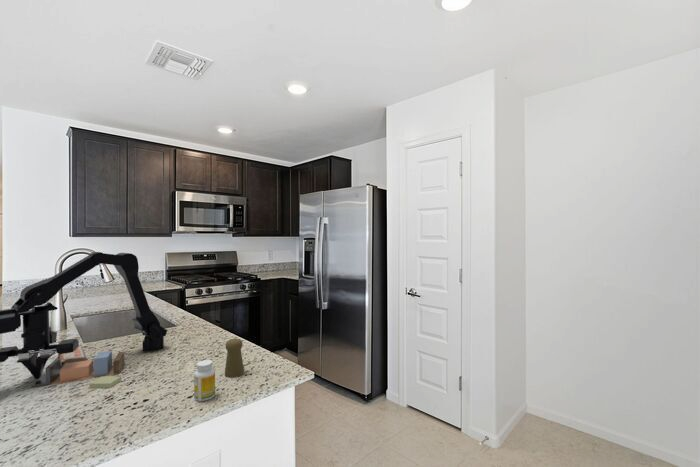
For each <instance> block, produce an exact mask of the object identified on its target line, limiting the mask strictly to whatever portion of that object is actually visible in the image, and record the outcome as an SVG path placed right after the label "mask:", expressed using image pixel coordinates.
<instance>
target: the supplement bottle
mask: <svg viewBox="0 0 700 467" xmlns="http://www.w3.org/2000/svg"><path fill="white" fill-rule="evenodd" d="M213 366H214V364H213V360H211V359H203V360H200V361H198V362H197V363H196V369H197V370H196V371H195V372H194V373H193V390H194V391H193V394H194V396H193V398H194V400H195V401H197V402H205V401H209V400H211V399H213V398H214V397H215V396H216V369H215V368H214V367H213Z"/></svg>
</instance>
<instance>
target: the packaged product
mask: <svg viewBox="0 0 700 467" xmlns="http://www.w3.org/2000/svg"><path fill="white" fill-rule="evenodd" d="M87 356H88V352H87V351H85V350H84V348H83V346H82V345H79V347H78V348H77V349H76V350H75V351H74V352H71V353H65V354H58V353H57V357H55V356H54V357H53V356H52V357H51V361H54V360H55V359H57V358H60V369H61V368H62V367H63V366H64V365H65V364H67V363H73V362H80V361H87V360H88V358H87Z"/></svg>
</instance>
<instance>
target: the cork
mask: <svg viewBox="0 0 700 467" xmlns="http://www.w3.org/2000/svg"><path fill="white" fill-rule="evenodd" d="M243 344H244V343H243V340H241V338H231V339H228V340H227V341H226V343H225V349H226V351H227V353H226V362H225V370H224V376H225V377H226V378H238V377H240V376H243V374H245V368H244V360H243V355H242V348H243Z"/></svg>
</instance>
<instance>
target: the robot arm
mask: <svg viewBox="0 0 700 467" xmlns="http://www.w3.org/2000/svg"><path fill="white" fill-rule="evenodd" d="M101 264H102V265H109V266H110V265H112V266H113V267H114V268H115V270H116V271H117V273H118V274H119V275H120V276H121V277H122V278H123V281H124V283H125V286H126V289H127V291H128V294H129V298H130V300H131V302H132V304H133V305H132V306H133V308H134V310H135V317H134V318H131V321H132V323H133V325H134V328H133V329H136V330H137V331H139V332H141V334H142V336H144V337H143V340H142V352H155V351H156V352H157V351H160V350H163V349H164V348H165V337H166V336H167V333H168V330H167V329H166V328H164V327H163V326H161V322H160V321H159V319H158V318H157V317H158V316H156V315H155V313H154V312H153V311H152V310H151V307H150V306H149V302H148V299H147V297H146V295H145V291H144V289H143V286H142V282H141V280H140V277H139V269H140V268H139V260H138V257H137V255H135V254H133V253H130V252H129V253H128V252H119V253H117V254H112V253H111V254H110V253H103V252H100V251H92V252H90V253H89V254H88V255H87V256H85V257H84V258H81V259H80V260H79V261H76V262H75V263H73V264H72V265H70V266H68V267H66V268H65V269H63V270H62V271H60V272H58V273H57V274H55V275H53V276H50V277H48V278H46V279H42V280H40V281H37V282H34V283H32V284H30V285H28V286H25V287H24V288H23V289H22V290H21V292H20V294H19V298H18V300H16V302H15V303H14V304H13V305H12V306H11V307H10V308H7V309H1V310H0V335H2V334H7V333H13V332H16V330H17V329H19V328H21V326H22V334H21V336H20V337H21V339H22V338H23V339H22V342H23V347H22V348H18V346H17V345H15V346H6V347H0V363H4V362H6V361H7V360H8V359H9V358H11V357H12V358H13V357H18V360H16V363H17V364H18V363H21V365H23V366H24V367H25V368H26V369H27V370H28V371H29V373H30V374H31V375H32V377H33V378H34V379H35V380H39V379H40V378H41V377H42V374H43V371H44V370H45V368H46V367H45V366H46V364H47V362H48V360H49V359H50V358H52V357H53V355H55V354H56V353H57V355H58V354H65V353H71V352H74V351H75V350H76V349H77V348H78V347H79V346H80V345H79V344H80V342H79V340H78V339H77V338H71V339H62V340H61V341H60V342H58V343H57V344H54V343H56V342H57V338H58V332H56V331H52V327H51V326H50V311H57V310H58V307H57V306H55V305H54V304H53V303H51V302H49V301H50V300H51V299H53V298H54V297H55V296H56V295H57V294H58V293H59V292H60V290H62V289H63V288H64V287H65V286H67V285H68V284H70V283H71V282H73V281H75V280H76V279H77V278H79V277H82V276H83V275H84V274H86V273H87V272H89V271H91V270H92V269H94V268H95V267H97V266H99V265H101ZM21 316H22V318H21Z"/></svg>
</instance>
